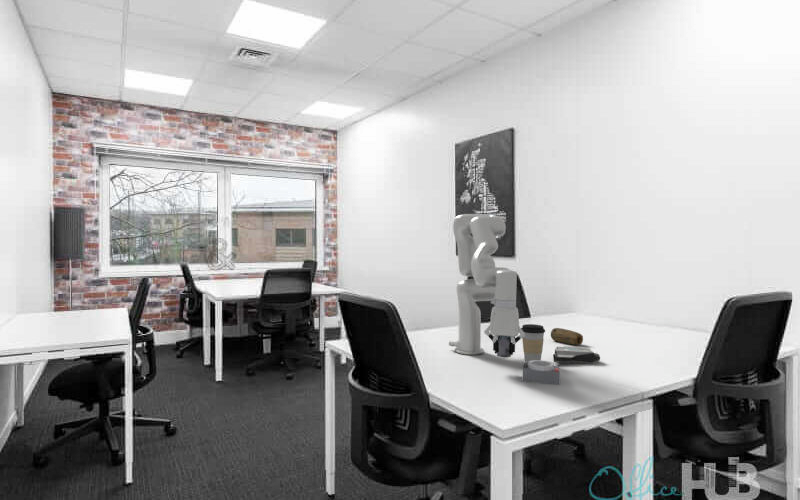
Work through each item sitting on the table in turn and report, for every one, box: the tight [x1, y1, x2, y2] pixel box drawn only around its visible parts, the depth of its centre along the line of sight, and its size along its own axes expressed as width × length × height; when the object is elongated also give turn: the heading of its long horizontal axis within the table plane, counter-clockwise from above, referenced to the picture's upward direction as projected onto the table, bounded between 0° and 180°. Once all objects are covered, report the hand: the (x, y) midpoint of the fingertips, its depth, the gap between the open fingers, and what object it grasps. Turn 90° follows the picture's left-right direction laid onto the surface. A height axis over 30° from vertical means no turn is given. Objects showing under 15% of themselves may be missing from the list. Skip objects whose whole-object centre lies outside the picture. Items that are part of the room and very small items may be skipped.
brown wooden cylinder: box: [550, 327, 584, 346], centre depth 226 cm, size 15×7×7 cm, turn 38°
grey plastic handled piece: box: [552, 345, 601, 364], centre depth 193 cm, size 16×20×5 cm
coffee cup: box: [520, 323, 546, 363], centre depth 186 cm, size 9×9×15 cm
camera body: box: [522, 359, 560, 385], centre depth 165 cm, size 12×9×6 cm
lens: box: [496, 336, 512, 359], centre depth 173 cm, size 5×5×7 cm
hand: (503, 352), depth 173 cm, fingers closed on lens, 5 cm apart
